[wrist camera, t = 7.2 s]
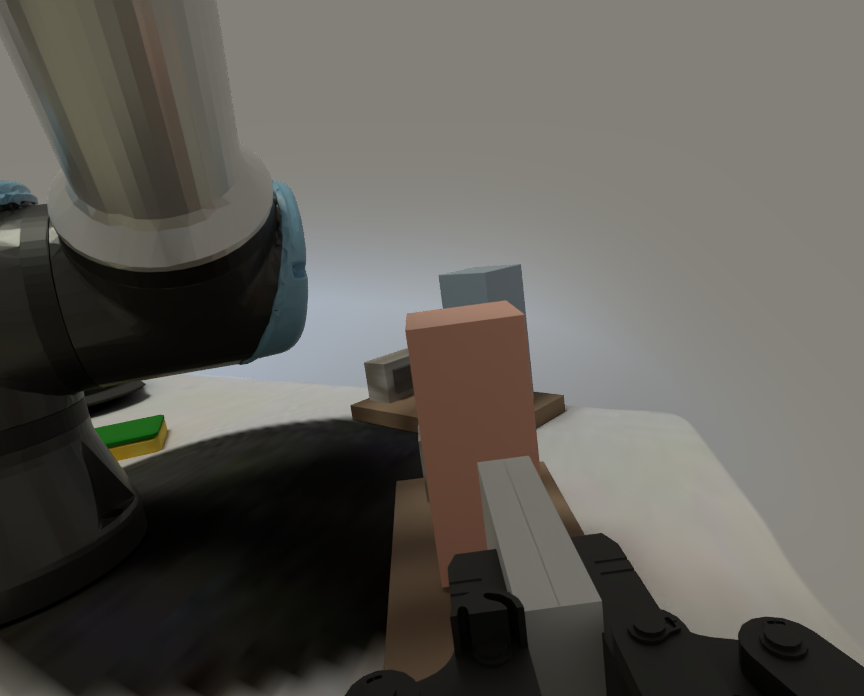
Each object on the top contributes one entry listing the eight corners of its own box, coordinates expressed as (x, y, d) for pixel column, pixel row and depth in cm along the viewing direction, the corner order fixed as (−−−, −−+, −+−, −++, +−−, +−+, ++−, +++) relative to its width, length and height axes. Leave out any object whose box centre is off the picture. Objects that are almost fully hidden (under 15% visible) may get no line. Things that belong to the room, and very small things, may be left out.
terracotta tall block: (550, 572, 27) (524, 314, 24) (441, 587, 27) (405, 330, 24) (529, 519, 31) (506, 300, 29) (437, 531, 31) (406, 313, 29)
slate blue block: (534, 398, 52) (520, 264, 50) (500, 416, 49) (484, 272, 46) (489, 392, 56) (475, 267, 53) (455, 409, 52) (438, 275, 50)
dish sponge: (162, 455, 57) (156, 431, 57) (-1, 491, 53) (-9, 467, 53) (168, 434, 64) (163, 413, 63) (24, 465, 60) (18, 443, 59)
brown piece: (656, 694, 21) (648, 560, 20) (388, 731, 21) (365, 599, 20) (545, 482, 40) (537, 405, 39) (399, 501, 40) (388, 425, 38)
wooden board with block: (565, 410, 53) (559, 352, 52) (499, 449, 46) (492, 383, 45) (421, 391, 66) (414, 343, 65) (352, 419, 59) (344, 367, 58)
